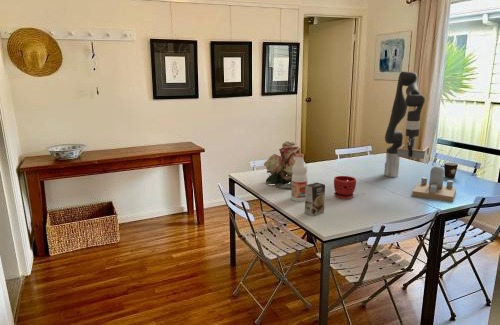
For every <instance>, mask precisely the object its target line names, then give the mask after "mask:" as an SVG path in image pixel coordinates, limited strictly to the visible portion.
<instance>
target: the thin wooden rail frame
mask: <svg viewBox="0 0 500 325" xmlns="http://www.w3.org/2000/svg"><path fill="white" fill-rule="evenodd" d="M405 147H406V144H403V143H402V146H401V147H399V148H397V150H398V151H397V157H400V158H410V159H411V158H412V159H422V160H425V157H426V156H425V154H427V155H429V154H430V146H429V145H428V146H426V147H425V148H424V149H423V150H421V149H414V150H413V154H412V157H409V156H408V153H409V150H408V148H405Z"/></svg>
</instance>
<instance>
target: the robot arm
mask: <svg viewBox="0 0 500 325" xmlns="http://www.w3.org/2000/svg"><path fill="white" fill-rule="evenodd" d="M418 83H419V82H418V74H417V73H416V72H414V71H401V72H400V73H399V75H398V78H397V83H396V84H397V85H396V90H395V96H394V97H395V98H394V100H393V105H392V109H391V113H390V117H389V121H388V126H387V129H386V132H385V135H384V140H385V143H386V144H389V145H390V144H392V145H391V146H390V147H387V149H386V154H385V155H386V158H385V163H384V173H383V175H384V176H386V177H390V178H396V177H397V178H398V177H399V174H400V172H399V171H400V170H399V169H400V160H401V157H397V151H398V150H397V148H399V147H401V146H402V145H403V139H404V136H403V132H402V131H401V130H396V128H397V126H398V125H399V124H400V122H401V121H402V120H403V119H404V118H405V116H406V114H407V117H406V125H405V126H406V127H405V136H406V137H408V138H407V142H406V143H407V149H408V150H409V153H408V156H409V157H412V154H413V150H415V146H416V140H417V139H416V138H417V137H419V136H420V129H421V128H420V127H421V126H420V125H421V120H420V119H421V113H422V110H423V106H424V104H425V101H426V98H425V96H424V95H423V94H420V91H419V88H418V85H419V84H418ZM403 87H406V89H405V94H406V97H405V95H404V92H403ZM409 107H410V108H415V107H416V108H415V109H413V110H409V111H407V110H408V108H409Z"/></svg>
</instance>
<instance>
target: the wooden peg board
mask: <svg viewBox="0 0 500 325" xmlns="http://www.w3.org/2000/svg"><path fill="white" fill-rule="evenodd" d="M440 166H441V165H434V166H433V167H431V169H430V172H429V173H430V174H429V181H428V177H426V176H425V177H424V176H422V177H421V181H420V182H417V184H416V185H415V187H414V188H413V189H412V192H411V193H412V196H413V197H418V198H419V197H420V198H424V199H425V198H426V199H432V200H438V201H444V202H453V201H454V198H455V195H456V192H457V187H455V186H453V184H454V180H450V179H449V180H447V181H446V185H444V178H445V174H444V167H443V166H442V167H440Z"/></svg>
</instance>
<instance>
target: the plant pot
mask: <svg viewBox="0 0 500 325" xmlns="http://www.w3.org/2000/svg"><path fill="white" fill-rule="evenodd" d="M356 185H357V179H356V178H355V177H353V176H347V175H339V176H338V175H337V176H334V178H333V187H334V191H335V192H334V193H333V194H334V196H335V197H336V198H338V199H342V200H350V199H352V198H354V195H355V194H354V193H355V189H356Z"/></svg>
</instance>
